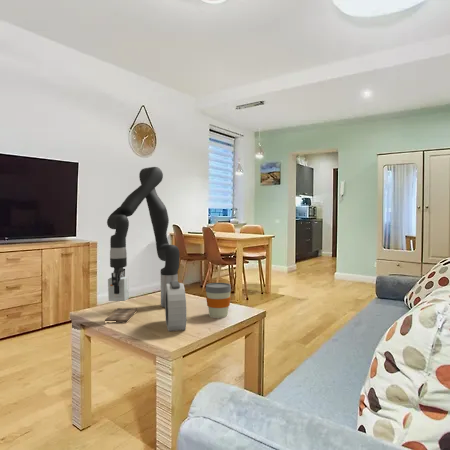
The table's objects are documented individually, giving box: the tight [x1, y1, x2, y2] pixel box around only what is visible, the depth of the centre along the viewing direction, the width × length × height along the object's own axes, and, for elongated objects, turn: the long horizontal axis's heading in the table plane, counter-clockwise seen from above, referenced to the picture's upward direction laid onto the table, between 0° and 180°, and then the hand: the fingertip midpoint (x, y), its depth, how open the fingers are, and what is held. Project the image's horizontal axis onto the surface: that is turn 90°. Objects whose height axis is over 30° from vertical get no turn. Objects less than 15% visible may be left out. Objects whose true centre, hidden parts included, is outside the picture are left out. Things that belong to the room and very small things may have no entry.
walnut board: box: [104, 307, 138, 323], centre depth 174 cm, size 10×20×2 cm, turn 0°
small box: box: [107, 276, 130, 302], centre depth 169 cm, size 8×6×10 cm
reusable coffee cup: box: [205, 282, 232, 319], centre depth 175 cm, size 13×13×15 cm
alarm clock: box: [164, 281, 187, 332], centre depth 159 cm, size 21×8×20 cm, turn 13°
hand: (118, 292), depth 169 cm, fingers closed on small box, 6 cm apart
